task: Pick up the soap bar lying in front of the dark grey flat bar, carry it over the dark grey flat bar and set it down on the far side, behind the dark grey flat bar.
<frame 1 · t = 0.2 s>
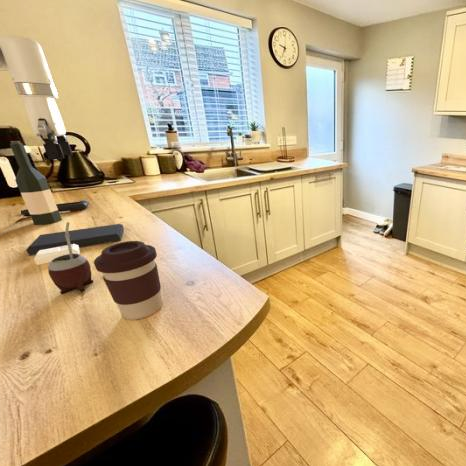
hand: (61, 157, 84), 28 cm above the counter, tool pointing down, fingers open, 9 cm apart
door handle: (60, 210, 126), on the counter
soap bar: (59, 258, 85), on the counter
dark grey flat bar: (81, 241, 95), on the counter
wine bottle: (48, 221, 113), on the counter
mate gourd: (78, 287, 70), on the counter
coffee cup: (143, 310, 62), on the counter
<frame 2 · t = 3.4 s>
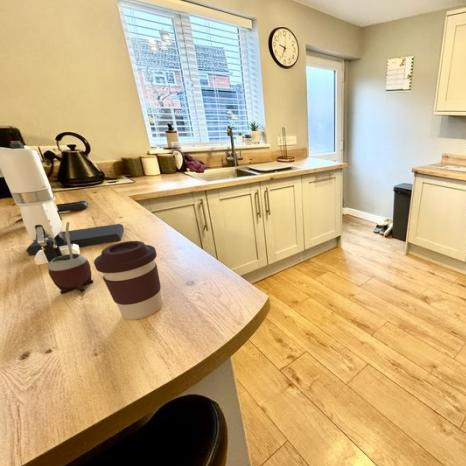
hand: (59, 255, 84), 0 cm above the counter, tool pointing down, fingers closed on soap bar, 5 cm apart
soap bar: (59, 257, 85), on the counter, touching gripper
everything else where it was.
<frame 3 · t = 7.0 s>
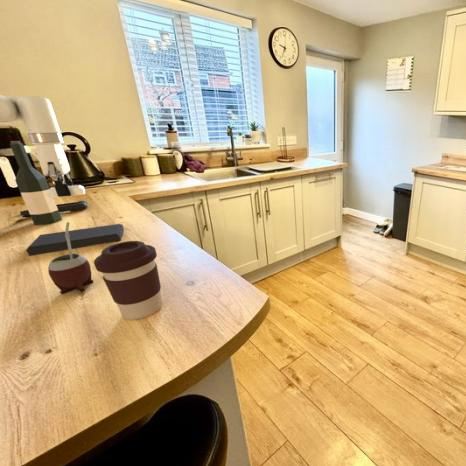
hand: (67, 193, 99), 14 cm above the counter, tool pointing down, fingers closed on soap bar, 5 cm apart
soap bar: (67, 195, 99), point 13 cm above the counter, touching gripper
everything else where it was.
when the fingers open (0 cm above the counter, at t = 10.5 s): soap bar stays where it is, on the counter.
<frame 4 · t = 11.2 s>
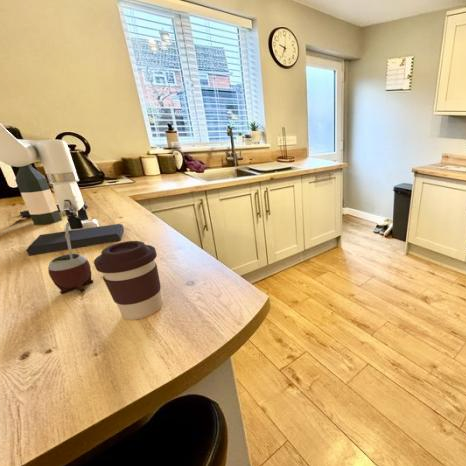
hand: (80, 224, 105), 2 cm above the counter, tool pointing down, fingers open, 9 cm apart
soap bar: (82, 229, 106), on the counter
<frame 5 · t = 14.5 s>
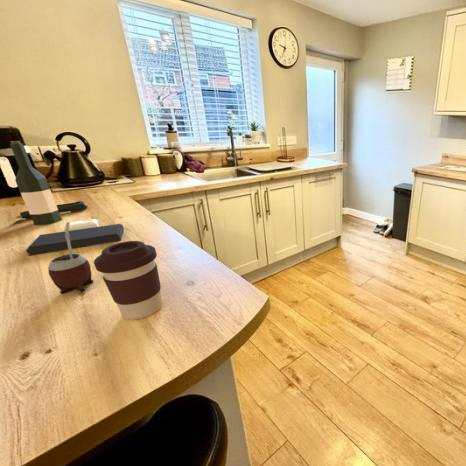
at the end: soap bar inside the target area (0.5 cm from its centre), on the counter; the gripper is holding nothing; soap bar touching counter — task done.
